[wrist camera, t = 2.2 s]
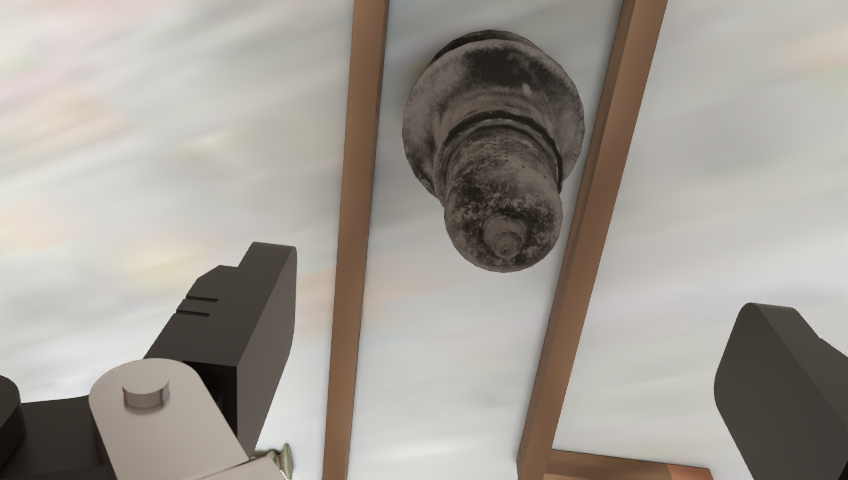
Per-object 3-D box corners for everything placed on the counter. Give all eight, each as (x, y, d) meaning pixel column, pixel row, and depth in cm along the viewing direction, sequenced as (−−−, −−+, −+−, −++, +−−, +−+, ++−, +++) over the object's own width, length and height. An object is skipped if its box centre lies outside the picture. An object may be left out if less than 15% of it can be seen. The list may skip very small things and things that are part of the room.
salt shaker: (460, 204, 27) (459, 402, 17) (378, 77, 25) (316, 209, 14) (597, 129, 26) (693, 295, 15) (521, -13, 24) (569, 60, 13)
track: (906, -24, 23) (966, -14, 20) (653, 607, 37) (668, 662, 34) (366, -93, 23) (354, -93, 20) (320, 566, 37) (309, 618, 34)
